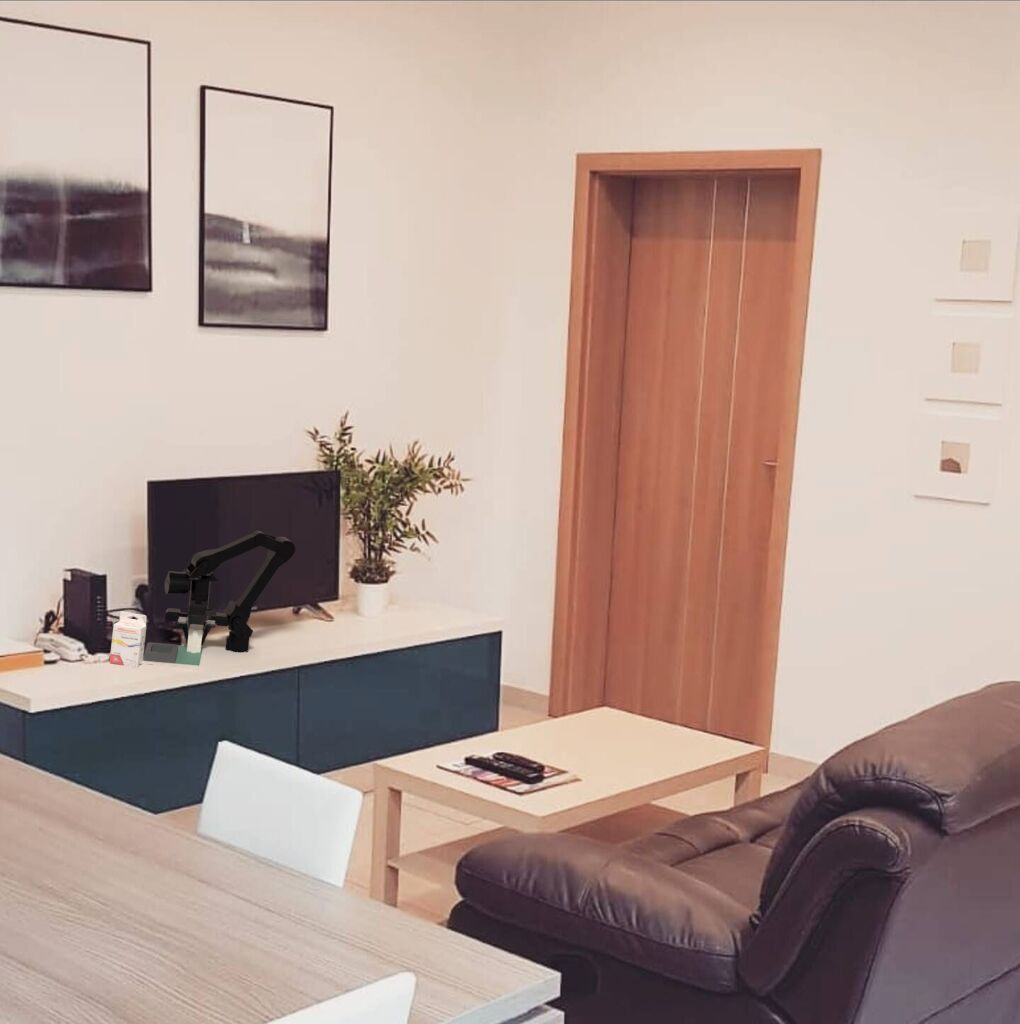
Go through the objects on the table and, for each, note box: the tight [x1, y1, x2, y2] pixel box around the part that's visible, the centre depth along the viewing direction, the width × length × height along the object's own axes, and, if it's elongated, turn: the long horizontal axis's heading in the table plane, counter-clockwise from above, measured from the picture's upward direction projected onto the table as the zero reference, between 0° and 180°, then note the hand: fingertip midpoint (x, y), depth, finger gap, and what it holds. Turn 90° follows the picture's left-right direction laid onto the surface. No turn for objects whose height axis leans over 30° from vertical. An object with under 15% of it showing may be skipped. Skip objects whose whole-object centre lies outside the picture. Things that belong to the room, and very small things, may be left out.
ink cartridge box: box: [109, 610, 148, 668], centre depth 443 cm, size 9×5×15 cm, turn 85°
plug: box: [186, 623, 205, 653], centre depth 463 cm, size 4×7×7 cm, turn 8°
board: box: [143, 642, 204, 667], centre depth 457 cm, size 16×20×4 cm
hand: (194, 644), depth 464 cm, fingers closed on plug, 4 cm apart
